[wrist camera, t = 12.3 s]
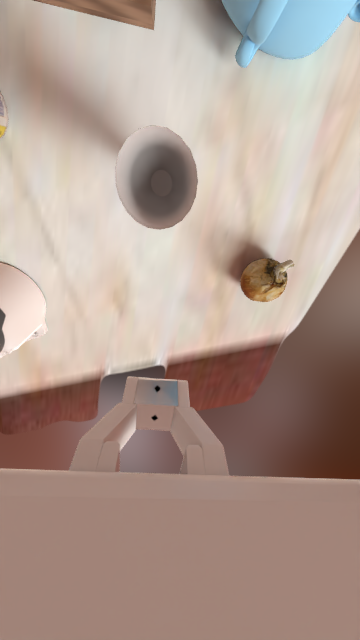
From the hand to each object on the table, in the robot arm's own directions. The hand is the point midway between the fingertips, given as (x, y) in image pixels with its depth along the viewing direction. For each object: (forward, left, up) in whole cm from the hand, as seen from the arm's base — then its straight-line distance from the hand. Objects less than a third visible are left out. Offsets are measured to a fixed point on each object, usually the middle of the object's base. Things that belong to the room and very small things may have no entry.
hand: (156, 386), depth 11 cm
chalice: (+4, +8, -32) cm, 33 cm away
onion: (+11, -13, -32) cm, 36 cm away
